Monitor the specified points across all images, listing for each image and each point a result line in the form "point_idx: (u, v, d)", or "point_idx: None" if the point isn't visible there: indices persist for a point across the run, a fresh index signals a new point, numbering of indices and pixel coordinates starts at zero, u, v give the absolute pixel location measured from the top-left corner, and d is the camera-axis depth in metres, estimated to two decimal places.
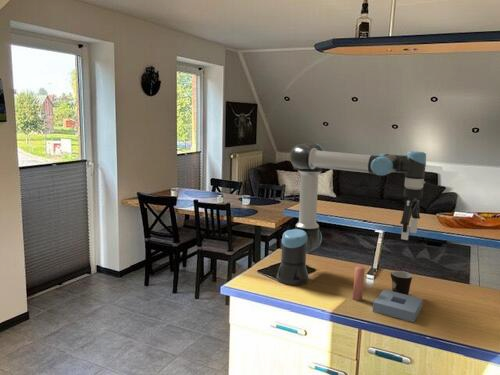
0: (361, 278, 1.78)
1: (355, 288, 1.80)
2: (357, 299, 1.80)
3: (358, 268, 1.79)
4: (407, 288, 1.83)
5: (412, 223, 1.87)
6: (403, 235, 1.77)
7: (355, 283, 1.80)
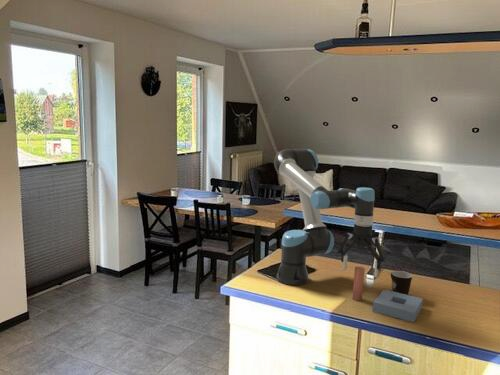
0: (361, 278, 1.78)
1: (355, 288, 1.80)
2: (357, 299, 1.80)
3: (358, 268, 1.79)
4: (407, 288, 1.83)
5: None
6: None
7: (355, 283, 1.80)
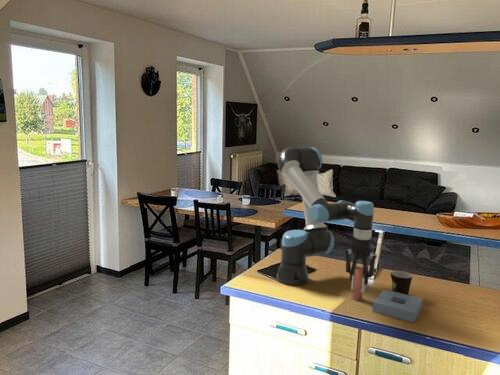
0: (361, 278, 1.78)
1: (355, 288, 1.80)
2: (357, 299, 1.80)
3: (358, 268, 1.79)
4: (407, 288, 1.83)
5: None
6: None
7: (355, 283, 1.80)
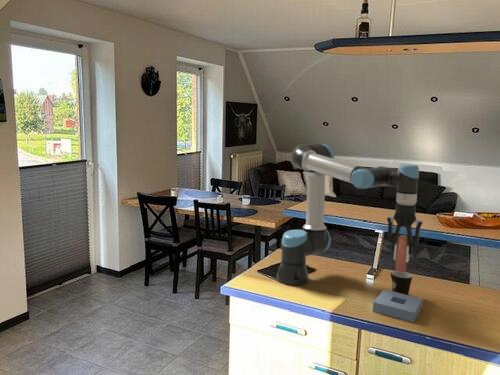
0: (405, 247, 1.67)
1: (398, 258, 1.68)
2: (401, 270, 1.68)
3: (401, 236, 1.68)
4: (407, 288, 1.83)
5: None
6: None
7: (398, 252, 1.68)
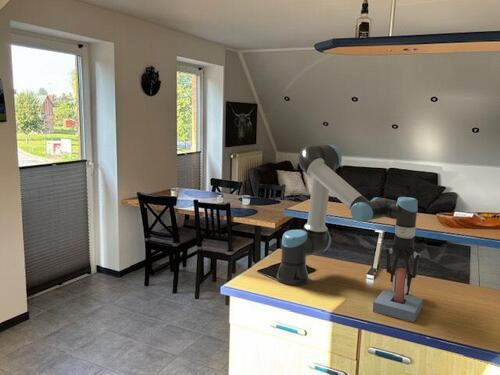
0: (403, 280, 1.69)
1: (397, 291, 1.70)
2: None
3: (400, 270, 1.70)
4: None
5: None
6: None
7: (397, 286, 1.70)
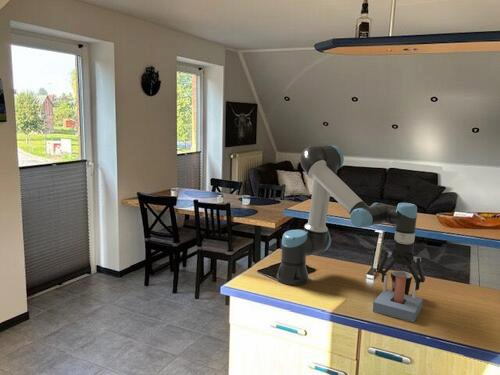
0: (402, 288, 1.69)
1: (396, 298, 1.71)
2: None
3: (399, 277, 1.70)
4: (407, 288, 1.83)
5: None
6: None
7: (396, 293, 1.71)
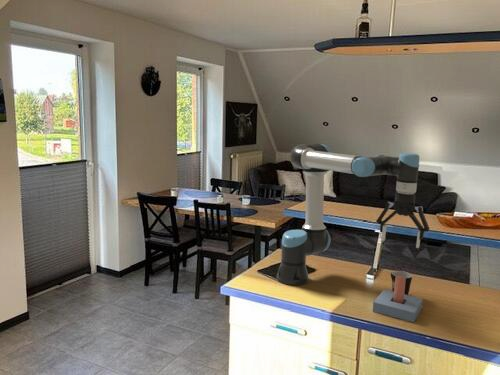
0: (402, 288, 1.69)
1: (396, 298, 1.71)
2: None
3: (399, 277, 1.70)
4: (407, 288, 1.83)
5: None
6: None
7: (396, 293, 1.71)
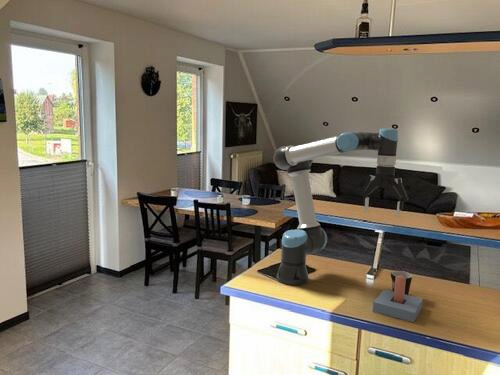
0: (402, 288, 1.69)
1: (396, 298, 1.71)
2: None
3: (399, 277, 1.70)
4: (407, 288, 1.83)
5: None
6: None
7: (396, 293, 1.71)
